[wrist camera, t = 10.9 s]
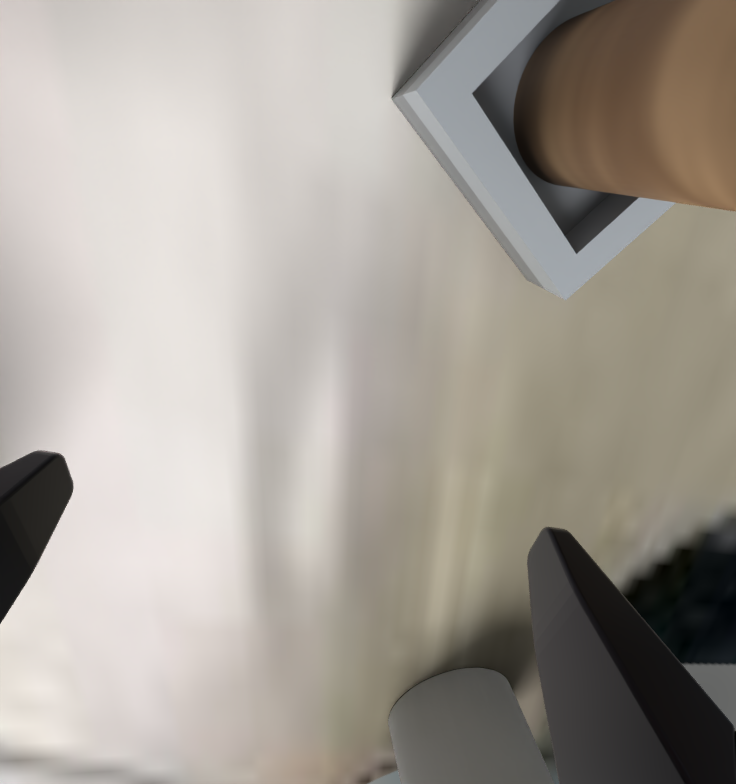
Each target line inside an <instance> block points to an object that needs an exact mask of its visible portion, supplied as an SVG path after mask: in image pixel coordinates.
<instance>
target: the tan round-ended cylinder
mask: <svg viewBox="0 0 736 784" xmlns="http://www.w3.org/2000/svg"><path fill="white" fill-rule="evenodd" d="M513 123H514V134H515V139H516V143H517V146H518V149H519V152H520V154H521V156H522V158H523V160H524V162H525V163H526V165H527V166H528V168H529V169H530V170H531V171H532V172H533V173H534V174H535V175H536V176H538V177H539V178H540V179H542V180H544V181H546V182H548V183H551V184H554V185H559V186H566V187H573V188H579V189H586V190H593V191H600V192H607V193H614V194H620V195H627V196H634V197H641V198H648V199H655V200H661V201H668V202H675V203H682V204H689V205H696V206H702V207H709V208H716V209H723V210H730V211H736V0H615V1H612V2H610V3H607V4H605V5H602V6H600V7H597V8H595V9H593V10H590V11H588V12H585V13H583V14H580V15H578V16H576V17H573V18H571V19H569V20H567V21H566V22H564V23H562V24H561V25H559V26H558V27H557V28H556V29H554V30H553V31H552V32H551V33H550V34H549V35H548V36H547V37H546V38H545V39H544V40H543V41H542V42H541V43H540V45H539V46H538V47H537V49H536V50H535V51H534V53H533V55H532V56H531V58H530V60H529V61H528V63H527V65H526V67H525V70H524V72H523V74H522V76H521V79H520V82H519V85H518V89H517V93H516V97H515V104H514V116H513Z"/></svg>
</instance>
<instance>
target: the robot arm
mask: <svg viewBox="0 0 736 784" xmlns="http://www.w3.org/2000/svg"><path fill="white" fill-rule="evenodd" d="M72 492H73V480H72V478H71V475H70V472H69V469H68V466H67V463H66V461H65V458H64V456H63V455H61V454H60V453H55V452H49V451H41V450H40V451H34V452H32V453H30V454H28V455H26V456H24V457H22V458H20V459H18V460H16V461H14V462H12V463H10V464H8V465H6V466H4V467H2V468H0V624H1V622H2V620H3V619H4V617H5V616H6V614H7V613H8V611H9V609H10V608H11V606H12V605H13V603H14V602H15V600H16V598H17V597H18V595H19V594H20V592H21V591H22V589H23V587H24V586H25V584H26V583H27V581H28V579H29V578H30V576H31V574H32V573H33V571H34V569H35V567H36V565H37V563H38V562H39V560H40V558H41V556H42V554H43V552H44V550H45V548H46V546H47V544H48V542H49V540H50V538H51V536H52V534H53V532H54V530H55V528H56V526H57V524H58V522H59V520H60V518H61V516H62V514H63V512H64V510H65V508H66V506H67V504H68V502H69V500H70V498H71V495H72ZM527 566H528V579H529V592H530V605H531V617H532V630H533V640H534V648H535V654H536V660H537V666H538V671H539V676H540V682H541V687H542V692H543V698H544V703H545V709H546V714H547V719H548V725H549V730H550V736H551V741H552V746H553V752H554V757H555V763H556V768H557V773H558V779H559V784H736V731H735V728H734V725H733V724H732V723H731V722H730V721H729V719H728V718H727V717H726V716H725V715H724V714H723V712H722V711H721V710H720V709H719V708H718V706H717V705H716V704H715V703H714V702H713V701H712V699H711V698H710V697H709V696H708V695H707V694H706V692H705V691H704V690H703V689H702V688H701V686H700V685H699V684H698V683H697V682H696V680H695V679H694V678H693V677H692V676H691V675H690V673H689V672H688V671H687V670H686V669H685V668H684V666H683V665H682V664H681V663H680V662H679V660H678V659H677V658H676V657H675V656H674V655H673V653H672V652H671V651H670V650H669V649H668V647H667V646H666V645H665V644H664V643H663V642H662V640H661V639H660V638H659V637H658V636H657V635H656V633H655V632H654V631H653V630H652V629H651V627H650V626H649V625H648V624H647V623H646V622H645V620H644V619H643V618H642V617H641V616H640V614H639V613H638V612H637V611H636V610H635V609H634V607H633V606H632V605H631V604H630V603H629V602H628V600H627V599H626V598H625V597H624V596H623V594H622V593H621V592H620V591H619V590H618V589H617V587H616V586H615V585H614V584H613V583H612V581H611V580H610V579H609V578H608V577H607V576H606V574H605V573H604V572H603V571H602V570H601V569H600V567H599V566H598V565H597V564H596V563H595V561H594V560H593V559H592V558H591V557H590V556H589V554H588V553H587V552H586V551H585V550H584V548H583V547H582V546H581V545H580V544H579V543H578V541H577V540H576V539H575V538H574V537H573V536H572V534H571V533H570V532H568V531H567V530H565V529H560V528H553V527H545V528H543V529H542V531H541V532H540V534H539V536H538V537H537V539H536V541H535V542H534V544H533V546H532V548H531V549H530V551H529V554H528V560H527Z"/></svg>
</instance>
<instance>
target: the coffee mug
mask: <svg viewBox="0 0 736 784" xmlns="http://www.w3.org/2000/svg"><path fill="white" fill-rule="evenodd" d="M388 724H389V729H390V734H391V739H392V743H393V748H394V753H395V758H396V762H397V767H398V772H399V776H400V781H401V784H554V782H553V779H552V777H551V775H550V773H549V771H548V768H547V766H546V764H545V762H544V759H543V757H542V755H541V753H540V751H539V748H538V746H537V744H536V742H535V739H534V737H533V735H532V733H531V730H530V728H529V726H528V724H527V722H526V719H525V717H524V715H523V713H522V710H521V708H520V706H519V704H518V702H517V699H516V697H515V695H514V693H513V690H512V688H511V686H510V684H509V682H508V680H507V679H506V677H505V676H503V675H502V674H501V673H499V672H497V671H494V670H490V669H485V668H464V669H458V670H452V671H449V672H445V673H442V674H439V675H437V676H434V677H432V678H429V679H427V680H425V681H423V682H421V683H419V684H418V685H416V686H415V687H413V688H412V689H410V690H409V691H408V692H407V693H405V694H404V695H403V696H402V697H401V698H400V699H399V700H398V701H397V703H396V704H395V705H394V707H393V708H392V710H391V712H390V715H389V720H388Z"/></svg>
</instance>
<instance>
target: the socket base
mask: <svg viewBox="0 0 736 784" xmlns="http://www.w3.org/2000/svg"><path fill="white" fill-rule="evenodd" d="M612 1H615V0H480V1H479V2H478V3H477V4H476V6H475V7H474V8H473V9H472V10H471V11H470V12H469V13H468V14H467V16H466V17H465V18H464V19H463V20H462V21H461V22H460V23H459V24H458V26H457V27H456V28H455V29H454V30H453V31H452V32H451V33H450V34H449V35H448V37H447V38H446V39H445V40H444V41H443V42H442V43H441V44H440V45H439V47H438V48H437V49H436V50H435V51H434V52H433V53H432V54H431V55H430V57H429V58H428V59H427V60H426V61H425V62H424V63H423V64H422V65H421V67H420V68H419V69H418V70H417V71H416V72H415V73H414V74H413V75H412V76H411V78H410V79H409V80H408V81H407V82H406V83H405V84H404V85H403V86H402V88H401V89H400V90H399V91H398V92H397V93H396V94H395V95H394V96H393V98H392V100H393V102H394V103H395V104H396V106H397V107H398V108H399V110H400V111H401V112H402V114H403V115H404V116H405V118H406V119H407V120H408V122H409V123H410V124H411V126H412V127H413V128H414V130H415V131H416V132H417V134H418V135H419V136H420V138H421V139H422V140H423V142H424V143H425V144H426V146H427V147H428V148H429V150H430V151H431V152H432V154H433V155H434V156H435V158H436V159H437V160H438V162H439V163H440V164H441V166H442V167H443V168H444V170H445V171H446V172H447V174H448V175H449V176H450V178H451V179H452V181H453V182H454V183H455V185H456V186H457V187H458V189H459V190H460V191H461V193H462V194H463V195H464V197H465V198H466V199H467V201H468V202H469V203H470V205H471V206H472V207H473V209H474V210H475V211H476V213H477V214H478V215H479V217H480V218H481V219H482V221H483V222H484V223H485V225H486V226H487V227H488V229H489V230H490V231H491V233H492V234H493V235H494V237H495V238H496V239H497V241H498V242H499V243H500V245H501V246H502V247H503V249H504V250H505V251H506V253H507V254H508V255H509V257H510V258H511V259H512V261H513V262H514V263H515V265H516V266H517V267H518V269H519V270H520V271H521V273H522V274H523V275H524V277H525V278H526V279H527V280H528V281H530V282H532V283H534V284H536V285H538V286H540V287H541V288H543V289H545V290H547V291H549V292H551V293H553V294H555V295H557V296H558V297H560V298H562V299H564V300H566V299H568V298H569V297H570V296H571V295H572V294H573V293H574V292H575V291H577V290H578V289H579V288H580V287H581V286H582V285H583V284H584V283H586V282H587V281H588V280H589V279H590V278H591V277H592V276H593V275H595V274H596V273H597V272H598V271H599V270H600V269H601V268H602V267H604V266H605V265H606V264H607V263H608V262H609V261H610V260H612V259H613V258H614V257H615V256H616V255H617V254H618V253H619V252H621V251H622V250H623V249H624V248H625V247H626V246H627V245H628V244H630V243H631V242H632V241H633V240H634V239H635V238H636V237H637V236H639V235H640V234H641V233H642V232H643V231H644V230H645V229H646V228H648V227H649V226H650V225H651V224H652V223H653V222H654V221H656V220H657V219H658V218H659V217H660V216H661V215H662V214H663V213H665V212H666V211H667V210H668V209H669V208H670V207H671V206H672V205H674V204H675V202H668V201H661V200H655V199H648V198H641V197H634V196H627V195H620V194H614V193H607V192H600V191H593V190H586V189H579V188H573V187H566V186H559V185H554V184H551V183H548V182H546V181H544V180H542V179H540V178H539V177H538V176H536V175H535V174H534V173H533V172H532V171H531V170H530V169H529V168H528V166H527V165H526V163H525V162H524V160H523V158H522V156H521V154H520V152H519V149H518V146H517V143H516V139H515V134H514V123H513V116H514V104H515V97H516V93H517V89H518V85H519V82H520V79H521V76H522V74H523V72H524V70H525V67H526V65H527V63H528V61H529V60H530V58H531V56H532V55H533V53H534V51H535V50H536V49H537V47H538V46H539V45H540V43H541V42H542V41H543V40H544V39H545V38H546V37H547V36H548V35H549V34H550V33H551V32H552V31H553V30H554V29H556V28H557V27H558V26H559V25H561V24H562V23H564V22H566V21H567V20H569V19H571V18H573V17H576V16H578V15H580V14H583V13H585V12H588V11H590V10H593V9H595V8H597V7H600V6H602V5H605V4H607V3H610V2H612Z"/></svg>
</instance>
